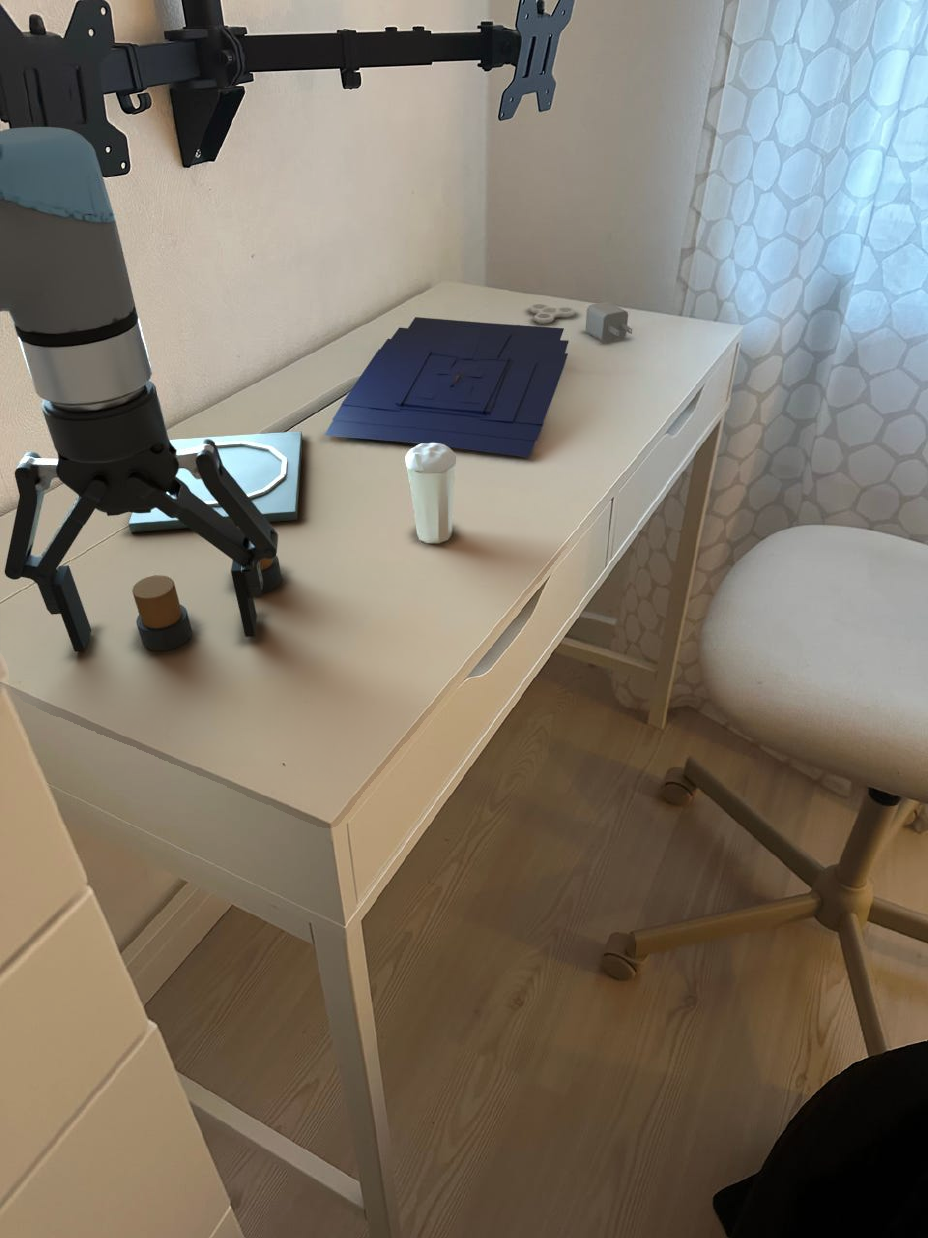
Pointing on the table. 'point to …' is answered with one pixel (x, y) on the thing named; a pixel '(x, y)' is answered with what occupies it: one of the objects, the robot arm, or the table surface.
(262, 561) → the stamp
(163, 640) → the stamp
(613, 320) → the usb wall charger
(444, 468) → the milkshake
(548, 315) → the fidget spinner
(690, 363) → the table surface
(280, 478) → the slate board
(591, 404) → the table surface
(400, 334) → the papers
